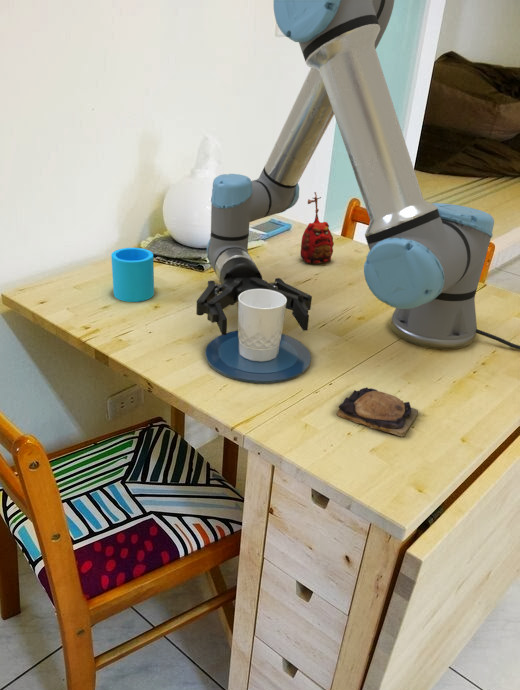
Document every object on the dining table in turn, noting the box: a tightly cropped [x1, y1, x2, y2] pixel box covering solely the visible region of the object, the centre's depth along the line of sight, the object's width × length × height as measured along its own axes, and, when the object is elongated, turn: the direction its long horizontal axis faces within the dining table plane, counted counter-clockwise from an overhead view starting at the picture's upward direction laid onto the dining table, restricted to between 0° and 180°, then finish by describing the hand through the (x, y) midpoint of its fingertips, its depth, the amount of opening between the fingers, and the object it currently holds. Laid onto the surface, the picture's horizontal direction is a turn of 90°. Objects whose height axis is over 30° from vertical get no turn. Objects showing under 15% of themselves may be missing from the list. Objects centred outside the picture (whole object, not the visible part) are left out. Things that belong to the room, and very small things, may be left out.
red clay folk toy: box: [300, 191, 335, 265], centre depth 147 cm, size 8×7×15 cm
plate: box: [204, 330, 312, 385], centre depth 111 cm, size 18×18×1 cm
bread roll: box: [336, 386, 420, 438], centre depth 96 cm, size 11×8×4 cm
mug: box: [110, 247, 155, 303], centre depth 130 cm, size 12×8×8 cm
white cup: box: [237, 289, 287, 362], centre depth 108 cm, size 8×8×10 cm
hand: (265, 325), depth 105 cm, fingers open, 13 cm apart
